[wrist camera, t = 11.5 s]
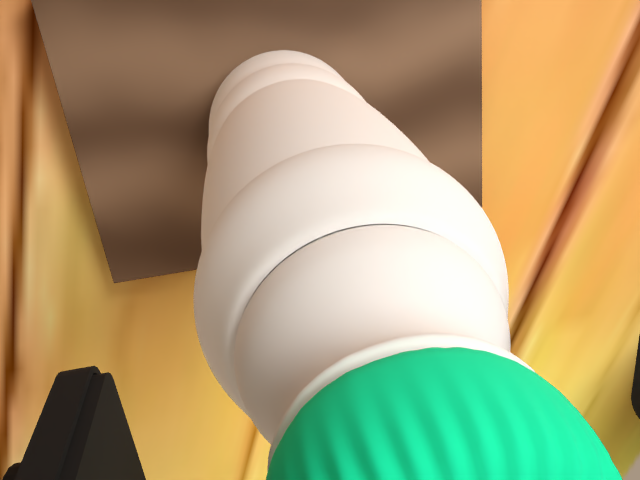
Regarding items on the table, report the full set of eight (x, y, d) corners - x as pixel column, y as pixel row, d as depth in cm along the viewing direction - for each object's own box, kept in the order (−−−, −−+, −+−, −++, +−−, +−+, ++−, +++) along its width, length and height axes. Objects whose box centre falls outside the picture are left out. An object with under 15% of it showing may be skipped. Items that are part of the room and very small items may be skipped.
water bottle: (355, 46, 29) (850, 334, 6) (352, 188, 32) (679, 742, 9) (203, 49, 28) (120, 398, 5) (214, 195, 31) (191, 832, 8)
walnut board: (39, -5, 27) (30, -3, 26) (469, -59, 29) (481, -61, 28) (118, 270, 33) (113, 283, 32) (472, 212, 35) (482, 222, 33)
